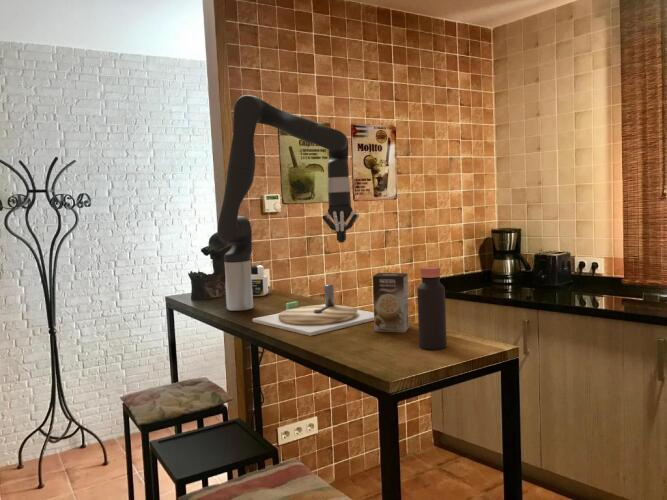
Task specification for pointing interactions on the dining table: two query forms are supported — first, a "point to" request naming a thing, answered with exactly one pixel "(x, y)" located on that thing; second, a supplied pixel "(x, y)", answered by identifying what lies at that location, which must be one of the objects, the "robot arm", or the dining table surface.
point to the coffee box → (390, 302)
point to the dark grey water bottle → (431, 310)
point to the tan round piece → (319, 312)
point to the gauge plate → (313, 328)
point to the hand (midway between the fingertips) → (341, 242)
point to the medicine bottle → (259, 281)
